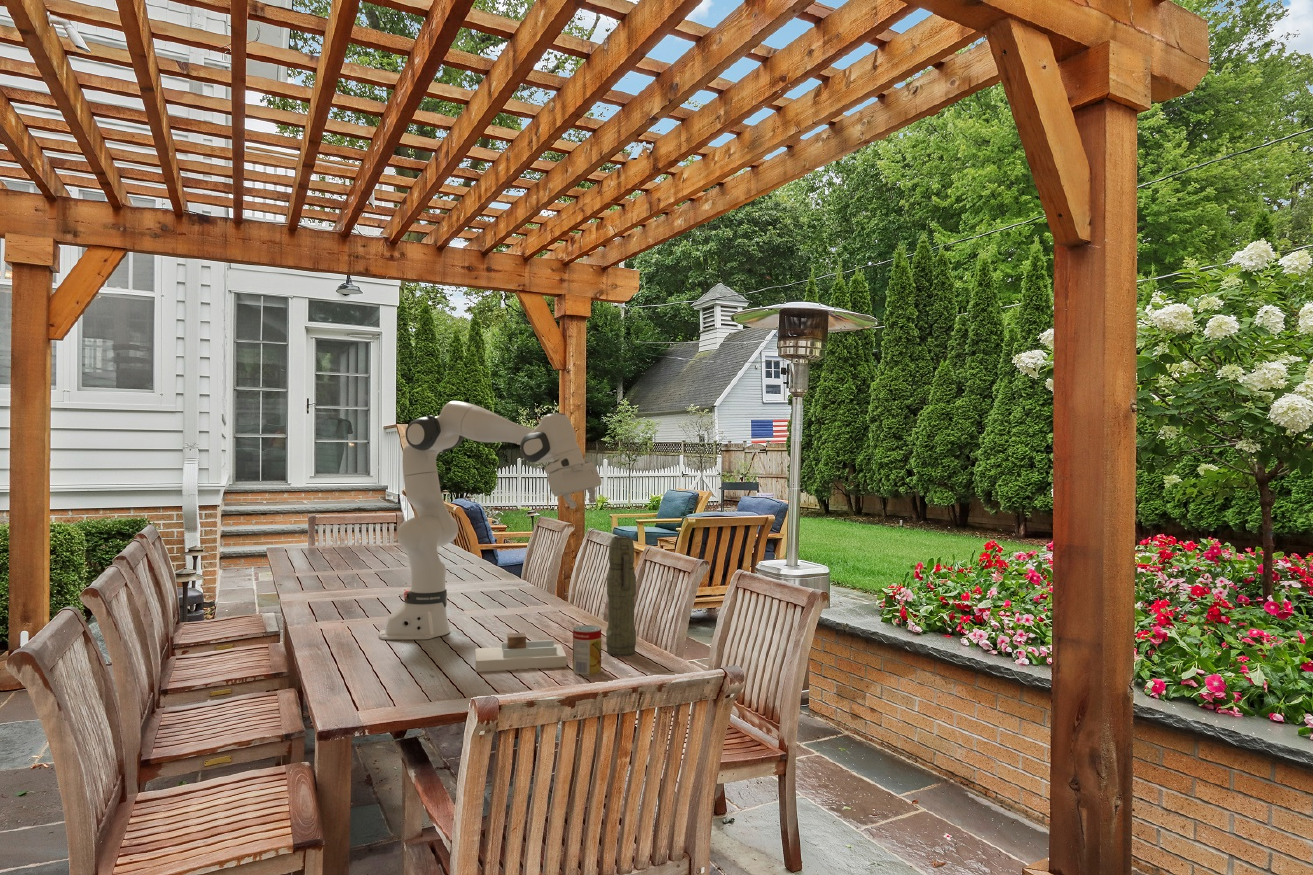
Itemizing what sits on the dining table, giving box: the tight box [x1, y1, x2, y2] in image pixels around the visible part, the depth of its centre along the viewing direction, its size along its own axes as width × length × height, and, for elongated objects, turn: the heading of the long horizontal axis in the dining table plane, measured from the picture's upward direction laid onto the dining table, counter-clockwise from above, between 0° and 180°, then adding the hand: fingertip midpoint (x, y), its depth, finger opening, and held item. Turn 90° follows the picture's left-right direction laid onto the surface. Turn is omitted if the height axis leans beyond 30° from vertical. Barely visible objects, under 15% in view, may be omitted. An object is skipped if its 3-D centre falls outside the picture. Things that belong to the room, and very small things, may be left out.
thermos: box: [605, 535, 637, 657], centre depth 246 cm, size 9×12×35 cm
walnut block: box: [506, 632, 527, 649], centre depth 234 cm, size 5×5×5 cm
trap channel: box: [474, 639, 567, 673], centre depth 234 cm, size 25×14×5 cm, turn 103°
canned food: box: [572, 624, 602, 676], centre depth 226 cm, size 8×8×12 cm
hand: (583, 505), depth 248 cm, fingers open, 8 cm apart
